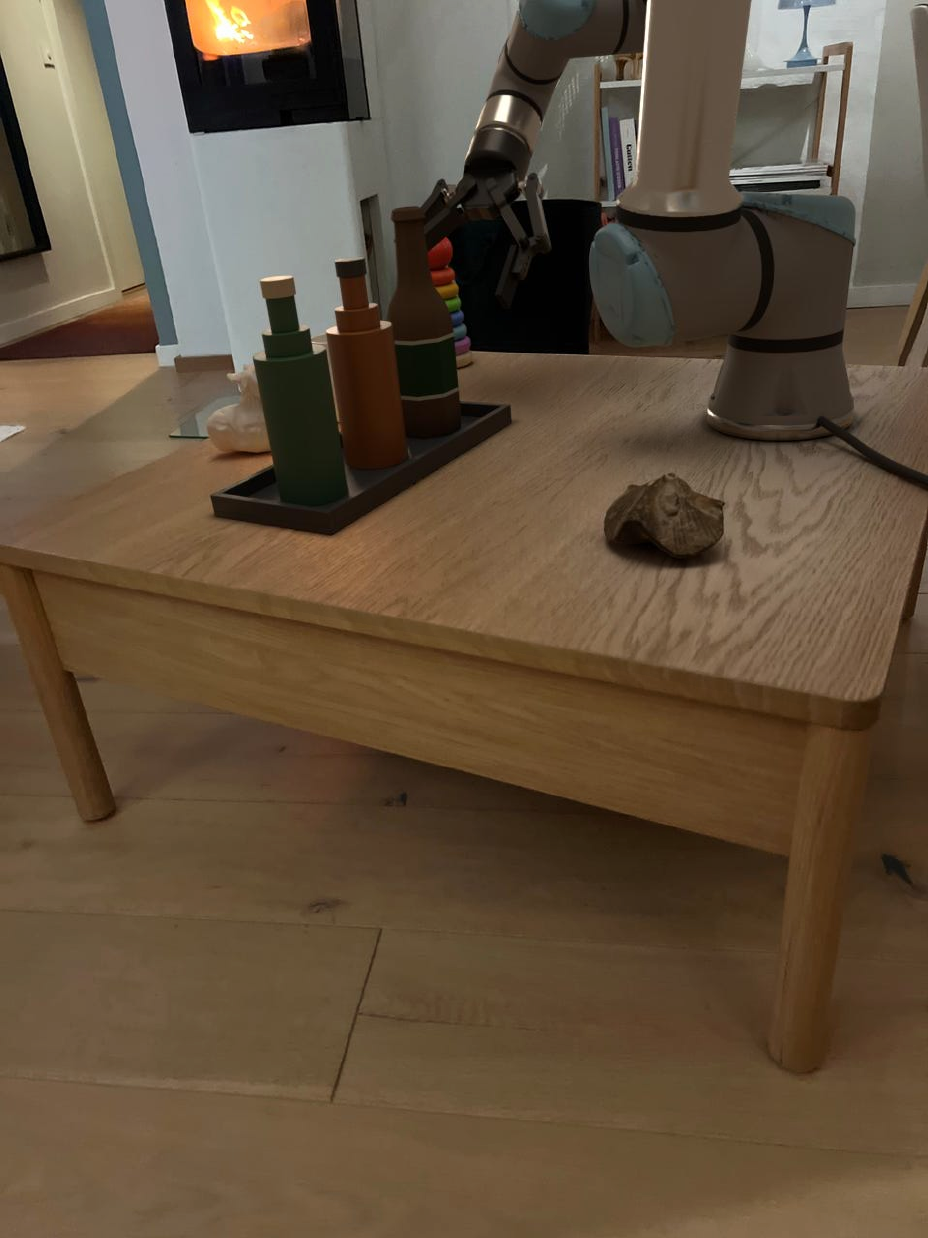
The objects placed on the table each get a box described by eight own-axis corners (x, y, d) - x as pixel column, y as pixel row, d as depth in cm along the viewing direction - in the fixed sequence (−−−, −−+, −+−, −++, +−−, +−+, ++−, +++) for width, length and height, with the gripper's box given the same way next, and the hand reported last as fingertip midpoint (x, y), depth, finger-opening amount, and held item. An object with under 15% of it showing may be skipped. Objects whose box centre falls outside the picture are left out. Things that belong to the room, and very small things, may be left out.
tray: (410, 414, 116) (408, 397, 114) (511, 422, 109) (510, 404, 108) (214, 516, 89) (209, 495, 88) (331, 535, 82) (327, 512, 81)
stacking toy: (419, 362, 142) (405, 232, 133) (470, 356, 142) (459, 227, 133) (423, 373, 135) (408, 238, 126) (476, 367, 135) (465, 232, 126)
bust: (220, 479, 106) (225, 415, 97) (194, 430, 108) (196, 363, 99) (312, 454, 112) (326, 391, 102) (286, 408, 114) (296, 342, 104)
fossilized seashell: (752, 518, 71) (664, 504, 80) (714, 458, 68) (627, 450, 76) (696, 590, 70) (613, 568, 78) (655, 532, 66) (572, 515, 75)
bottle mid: (419, 459, 97) (396, 256, 88) (362, 474, 94) (332, 266, 85) (390, 445, 103) (365, 252, 93) (335, 459, 100) (304, 262, 90)
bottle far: (359, 494, 89) (326, 275, 80) (295, 512, 86) (253, 287, 77) (330, 477, 95) (297, 269, 85) (270, 494, 92) (227, 281, 82)
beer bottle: (455, 438, 103) (434, 208, 91) (389, 440, 104) (360, 213, 93) (468, 418, 109) (450, 201, 98) (406, 420, 111) (381, 206, 100)
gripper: (606, 165, 107) (558, 322, 103) (428, 177, 119) (378, 319, 115) (588, 115, 100) (536, 281, 96) (401, 133, 112) (348, 282, 108)
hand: (450, 302), depth 106 cm, fingers open, 13 cm apart
